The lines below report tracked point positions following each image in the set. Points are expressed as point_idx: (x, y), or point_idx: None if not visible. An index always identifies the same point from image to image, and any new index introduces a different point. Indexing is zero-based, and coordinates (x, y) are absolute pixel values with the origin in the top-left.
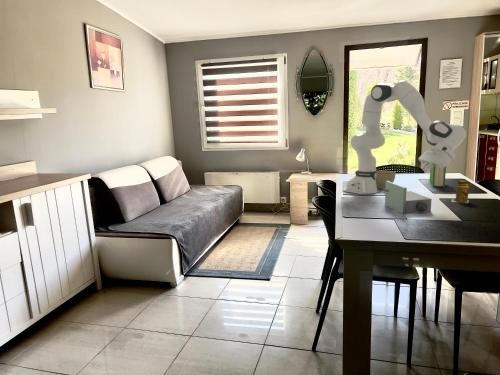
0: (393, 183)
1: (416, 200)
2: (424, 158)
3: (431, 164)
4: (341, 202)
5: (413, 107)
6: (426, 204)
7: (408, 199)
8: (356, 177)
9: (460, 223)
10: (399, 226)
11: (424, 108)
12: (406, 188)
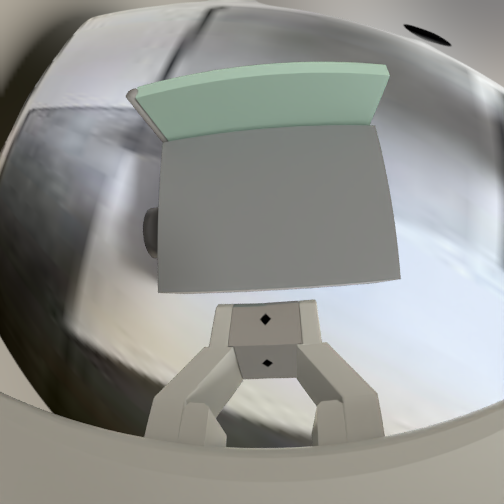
0: (285, 66)
1: (159, 197)
2: (502, 458)
3: (156, 428)
4: (396, 37)
5: None
6: (148, 250)
7: (183, 161)
8: None
9: (47, 303)
10: (83, 112)
11: None
12: (128, 99)
